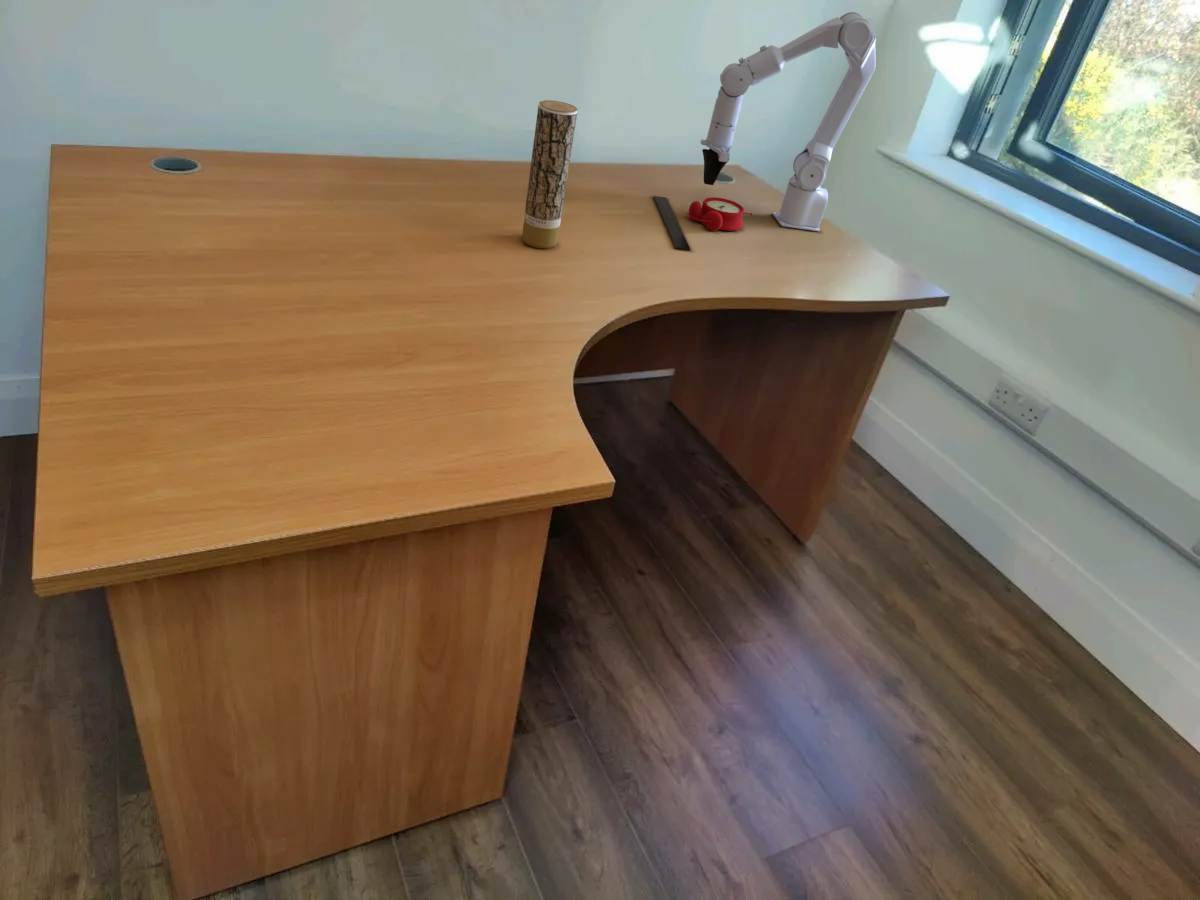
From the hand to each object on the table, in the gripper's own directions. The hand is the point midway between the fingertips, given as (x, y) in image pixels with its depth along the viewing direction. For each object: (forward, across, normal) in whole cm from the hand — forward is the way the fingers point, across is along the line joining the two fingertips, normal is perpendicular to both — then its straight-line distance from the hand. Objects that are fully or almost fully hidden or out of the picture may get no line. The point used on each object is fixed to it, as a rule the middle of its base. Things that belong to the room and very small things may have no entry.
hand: (708, 183), depth 191 cm
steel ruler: (+5, +15, -10) cm, 19 cm away
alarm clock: (+5, +12, 0) cm, 13 cm away
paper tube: (+5, +36, -40) cm, 54 cm away
